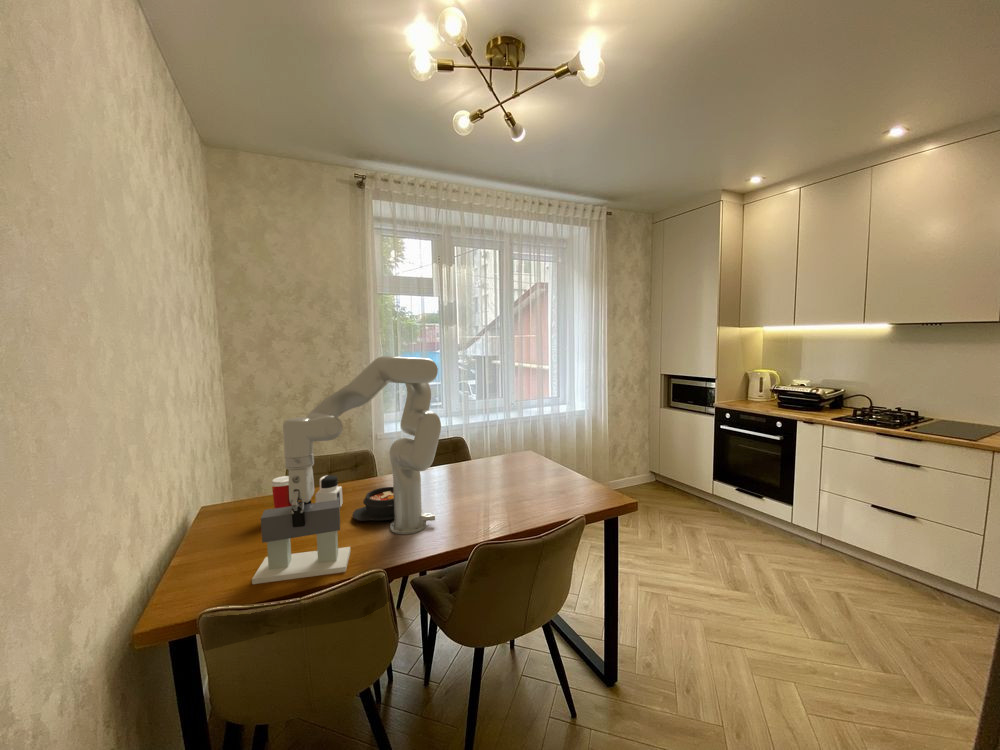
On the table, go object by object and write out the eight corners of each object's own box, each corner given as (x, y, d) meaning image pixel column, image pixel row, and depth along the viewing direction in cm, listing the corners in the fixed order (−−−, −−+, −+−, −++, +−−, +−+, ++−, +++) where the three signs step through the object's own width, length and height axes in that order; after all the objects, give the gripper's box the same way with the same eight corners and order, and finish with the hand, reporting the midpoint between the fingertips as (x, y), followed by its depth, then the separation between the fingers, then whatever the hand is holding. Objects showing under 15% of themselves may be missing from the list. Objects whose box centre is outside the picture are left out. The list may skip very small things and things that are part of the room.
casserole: (354, 531, 143) (353, 507, 142) (350, 511, 160) (349, 490, 159) (425, 517, 153) (425, 496, 153) (414, 500, 170) (413, 481, 170)
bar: (340, 521, 126) (339, 499, 125) (339, 530, 120) (338, 507, 120) (266, 533, 119) (264, 509, 118) (262, 542, 113) (260, 518, 113)
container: (343, 504, 167) (341, 473, 166) (336, 512, 159) (334, 479, 158) (323, 505, 167) (322, 473, 166) (315, 512, 159) (314, 480, 158)
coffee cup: (291, 511, 161) (289, 474, 159) (301, 517, 155) (299, 478, 154) (268, 518, 154) (266, 479, 153) (278, 524, 149) (275, 484, 148)
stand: (350, 551, 129) (349, 518, 128) (345, 571, 117) (344, 536, 117) (266, 561, 123) (264, 527, 123) (252, 584, 112) (249, 547, 111)
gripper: (307, 468, 110) (310, 531, 112) (319, 452, 127) (321, 507, 129) (276, 471, 109) (279, 535, 110) (292, 454, 126) (295, 509, 127)
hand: (302, 519), depth 119 cm, fingers open, 8 cm apart
